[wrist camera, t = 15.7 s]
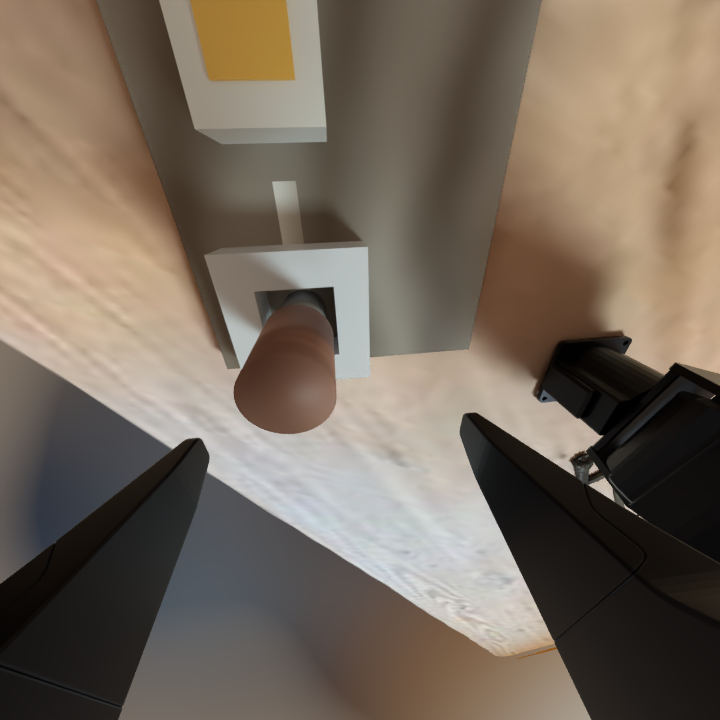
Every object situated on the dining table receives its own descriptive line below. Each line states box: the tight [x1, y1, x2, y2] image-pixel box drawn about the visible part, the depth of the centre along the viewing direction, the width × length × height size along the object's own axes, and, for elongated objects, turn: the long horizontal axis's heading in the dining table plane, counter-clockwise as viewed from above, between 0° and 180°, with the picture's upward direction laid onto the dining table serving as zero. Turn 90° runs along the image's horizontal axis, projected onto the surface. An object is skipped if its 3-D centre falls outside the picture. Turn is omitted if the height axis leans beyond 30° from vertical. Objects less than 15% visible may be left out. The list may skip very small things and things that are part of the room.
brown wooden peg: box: [234, 290, 336, 434], centre depth 13 cm, size 4×4×9 cm
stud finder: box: [159, 0, 327, 144], centre depth 10 cm, size 5×7×3 cm
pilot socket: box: [204, 241, 370, 380], centre depth 16 cm, size 8×8×2 cm
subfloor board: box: [96, 0, 541, 369], centre depth 14 cm, size 18×22×2 cm
